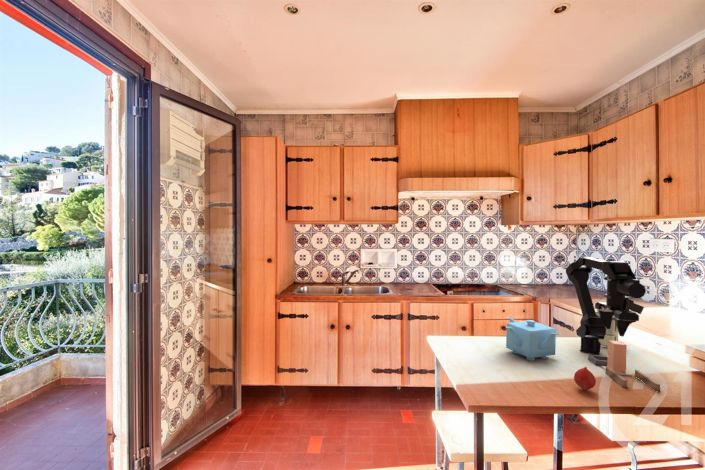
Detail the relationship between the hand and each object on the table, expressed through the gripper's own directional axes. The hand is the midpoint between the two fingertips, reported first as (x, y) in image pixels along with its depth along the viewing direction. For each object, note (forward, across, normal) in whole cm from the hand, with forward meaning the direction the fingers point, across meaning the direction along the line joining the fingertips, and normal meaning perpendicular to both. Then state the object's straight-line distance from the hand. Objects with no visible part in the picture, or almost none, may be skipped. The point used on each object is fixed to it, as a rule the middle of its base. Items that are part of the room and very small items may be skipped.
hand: (614, 332), depth 124 cm
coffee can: (+13, +27, -9) cm, 31 cm away
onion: (+13, -26, +21) cm, 36 cm away
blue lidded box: (+13, +1, +30) cm, 33 cm away
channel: (+13, -15, +2) cm, 20 cm away
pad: (+13, -6, +2) cm, 15 cm away
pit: (+13, +1, +2) cm, 13 cm away
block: (+13, -6, +2) cm, 14 cm away
